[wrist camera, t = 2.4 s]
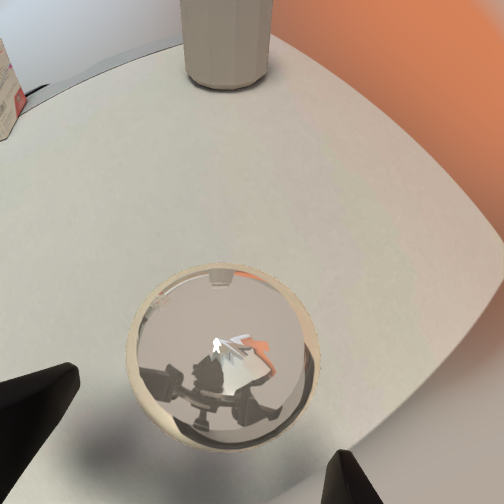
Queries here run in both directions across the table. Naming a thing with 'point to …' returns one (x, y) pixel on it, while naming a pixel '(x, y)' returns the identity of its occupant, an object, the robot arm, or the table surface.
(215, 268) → the light bulb
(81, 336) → the table surface
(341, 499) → the robot arm
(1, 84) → the ink cartridge box
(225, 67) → the jar
